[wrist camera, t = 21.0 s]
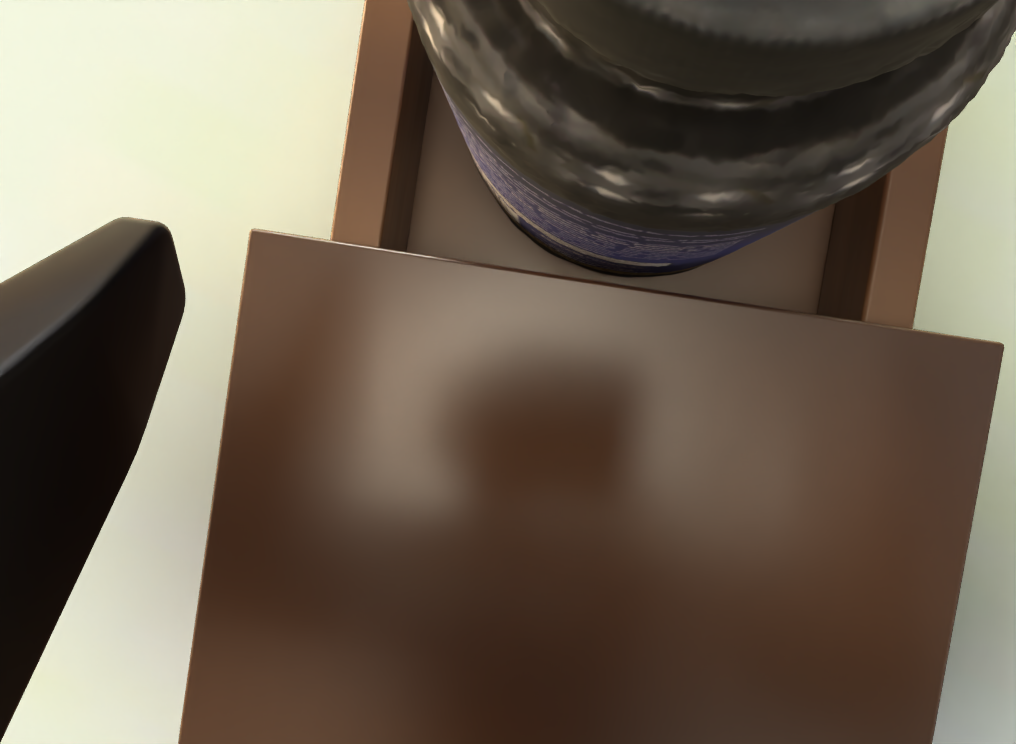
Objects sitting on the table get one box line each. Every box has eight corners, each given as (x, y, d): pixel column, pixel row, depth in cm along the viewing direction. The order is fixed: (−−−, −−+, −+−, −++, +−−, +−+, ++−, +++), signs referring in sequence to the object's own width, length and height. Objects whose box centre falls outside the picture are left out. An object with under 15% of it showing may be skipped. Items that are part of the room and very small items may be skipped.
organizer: (329, 255, 19) (248, 227, 14) (881, 340, 18) (1006, 343, 13) (249, 809, 19) (144, 977, 14) (782, 903, 19) (866, 1112, 14)
